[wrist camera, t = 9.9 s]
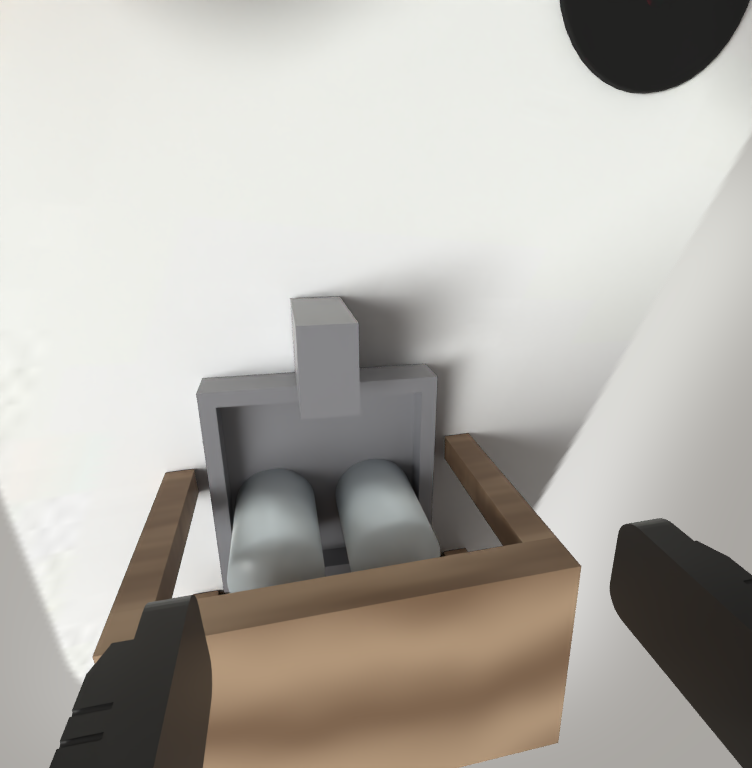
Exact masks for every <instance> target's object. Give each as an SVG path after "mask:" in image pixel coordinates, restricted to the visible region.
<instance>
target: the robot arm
mask: <svg viewBox="0 0 752 768" xmlns="http://www.w3.org/2000/svg"><path fill="white" fill-rule="evenodd" d="M610 595H611V599H612V602H613V605H614V608H615V610H616V612H617V614H618V615H619V617H620V618H621V620H622V621H623V622H624V623H625V625H626V626H627V627H628V628H629V630H630V631H631V632H632V633H633V635H634V636H635V637H636V638H637V639H638V641H639V642H640V643H641V644H642V646H643V647H644V648H645V649H646V650H647V652H648V653H649V654H650V655H651V656H652V658H653V659H654V660H655V661H656V663H657V664H658V665H659V666H660V667H661V669H662V670H663V671H664V672H665V673H666V675H667V676H668V677H669V678H670V679H671V681H672V682H673V683H674V684H675V686H676V687H677V688H678V689H679V691H680V692H681V693H682V694H683V696H684V697H685V698H686V699H687V700H688V701H689V703H690V704H691V705H692V706H693V708H694V709H695V710H696V711H697V713H698V714H699V715H700V716H701V717H702V719H703V720H704V721H705V722H706V724H707V725H708V726H709V727H710V728H711V730H712V731H713V732H714V733H715V734H716V736H717V737H718V738H719V739H720V740H721V742H722V743H723V744H724V745H725V747H726V748H727V749H728V750H729V752H730V753H731V754H732V755H733V756H734V758H735V759H736V760H737V761H738V762H739V764H740V765H741V766H742V767H743V768H752V575H751V574H750V573H748V572H747V571H746V570H744V569H743V568H742V567H741V566H739V565H738V564H737V563H735V562H734V561H733V560H732V559H731V558H729V557H728V556H726V555H724V554H722V553H720V552H718V551H716V550H714V549H712V548H710V547H708V546H706V545H704V544H702V543H700V542H698V541H693V540H692V539H691V538H690V537H688V536H687V535H686V534H685V533H683V532H682V531H681V530H680V529H679V528H677V527H676V526H675V525H674V524H672V523H671V522H670V521H668V520H666V519H662V518H659V519H653V520H647V521H641V522H635V523H629V524H625V525H623V526H622V527H621V528H620V530H619V534H618V538H617V545H616V550H615V556H614V562H613V568H612V574H611V581H610ZM211 699H212V667H211V659H210V654H209V650H208V645H207V641H206V636H205V632H204V627H203V623H202V618H201V614H200V609H199V605H198V601H197V598H196V596H195V595H190V596H184V597H178V598H172V599H166V600H160V601H154V602H149V603H147V604H146V605H145V607H144V609H143V612H142V615H141V618H140V621H139V624H138V628H137V631H136V634H135V637H134V639H132V640H126V641H121V642H115V643H111V645H110V646H109V647H108V648H107V650H106V651H105V652H104V653H103V655H102V656H101V657H100V658H99V660H98V661H97V662H96V663H95V665H94V666H93V667H92V668H91V669H90V671H89V672H88V673H87V674H86V677H85V679H84V682H83V684H82V687H81V690H80V692H79V694H78V697H77V699H76V702H75V704H74V707H73V709H72V712H73V713H72V717H70V718H69V720H68V722H67V725H66V727H65V730H64V732H63V735H62V737H61V740H60V748H59V749H57V750H56V752H55V755H54V758H53V760H52V762H51V765H50V767H49V768H203V763H204V755H205V747H206V739H207V731H208V724H209V716H210V708H211Z"/></svg>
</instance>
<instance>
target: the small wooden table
mask: <svg viewBox="0 0 752 768" xmlns="http://www.w3.org/2000/svg"><path fill="white" fill-rule="evenodd" d="M444 458H445V460H446V461H447V463H448V464H449V466H450V467H451V469H452V470H453V472H454V473H455V475H456V476H457V478H458V479H459V481H460V482H461V484H462V485H463V487H464V488H465V490H466V491H467V493H468V494H469V496H470V497H471V499H472V500H473V502H474V503H475V505H476V506H477V508H478V509H479V511H480V512H481V514H482V515H483V517H484V518H485V520H486V521H487V523H488V524H489V525H490V527H491V528H492V530H493V531H494V533H495V534H496V536H497V537H498V539H499V540H500V542H501V543H502V545H503V546H501V547H495V548H489V549H483V550H477V551H472V552H467V550H466V548H463V549H457V550H452V551H446V552H444V556H443V557H437V558H431V559H425V560H420V561H414V562H408V563H402V564H396V565H391V566H385V567H379V568H373V569H368V570H362V571H356V572H350V573H344V574H339V575H333V576H327V577H321V578H315V579H310V580H304V581H298V582H292V583H287V584H281V585H275V586H269V587H263V588H258V589H252V590H246V591H240V592H234V593H229V594H223V595H219V592H218V591H212V592H206V593H201V594H195V596H196V598H197V601H198V605H199V609H200V614H201V618H202V623H203V627H204V632H205V636H206V641H207V645H208V650H209V654H210V659H211V667H212V699H211V708H210V716H209V724H208V731H207V739H206V747H205V755H204V763H203V768H459V767H463V766H467V765H471V764H475V763H479V762H483V761H487V760H491V759H495V758H499V757H503V756H507V755H511V754H515V753H519V752H523V751H527V750H531V749H535V748H539V747H543V746H547V745H551V744H555V743H558V740H559V732H560V725H561V717H562V709H563V701H564V694H565V686H566V679H567V670H568V663H569V656H570V648H571V641H572V633H573V625H574V617H575V610H576V603H577V595H578V587H579V580H580V572H581V565H580V564H579V563H578V562H577V561H576V560H575V558H574V557H573V556H572V555H571V554H570V552H569V551H568V550H567V549H566V548H565V547H564V545H563V544H562V543H561V542H560V541H559V539H558V538H557V537H556V536H555V535H554V534H553V532H552V531H551V530H550V529H549V528H548V526H547V525H546V524H545V523H544V522H543V521H542V520H541V518H540V517H539V516H538V515H537V514H536V512H535V511H534V510H533V509H532V508H531V506H530V505H529V504H528V503H527V502H526V501H525V499H524V498H523V497H522V496H521V495H520V493H519V492H518V491H517V490H516V489H515V488H514V486H513V485H512V484H511V483H510V482H509V480H508V479H507V478H506V477H505V476H504V475H503V473H502V472H501V471H500V470H499V469H498V468H497V466H496V465H495V464H494V463H493V462H492V460H491V459H490V458H489V457H488V456H487V455H486V453H485V452H484V451H483V450H482V449H481V447H480V446H479V445H478V444H477V443H476V442H475V440H474V439H473V438H472V437H471V436H470V435H469V433H466V434H459V435H451V436H445V456H444ZM198 493H199V491H198V486H197V481H196V476H195V471H194V469H191V470H183V471H175V472H168V473H165V475H164V478H163V480H162V483H161V485H160V488H159V490H158V493H157V495H156V498H155V500H154V503H153V505H152V508H151V511H150V513H149V516H148V518H147V521H146V523H145V526H144V528H143V531H142V533H141V536H140V538H139V541H138V543H137V546H136V548H135V551H134V553H133V556H132V558H131V561H130V563H129V566H128V568H127V571H126V574H125V576H124V579H123V581H122V584H121V586H120V589H119V591H118V594H117V596H116V599H115V601H114V604H113V606H112V609H111V611H110V614H109V616H108V619H107V621H106V624H105V626H104V629H103V631H102V634H101V637H100V639H99V642H98V644H97V647H96V649H95V652H94V654H93V660H94V663H96V662H97V661H98V660H99V658H100V657H101V656H102V655H103V653H104V652H105V651H106V650H107V648H108V647H109V646H110V645H111V643H115V642H121V641H126V640H132V639H134V637H135V634H136V631H137V628H138V624H139V621H140V618H141V615H142V612H143V609H144V607H145V605H146V604H147V603H149V602H154V601H160V600H166V599H172V595H173V591H174V588H175V584H176V580H177V576H178V572H179V568H180V564H181V560H182V556H183V552H184V548H185V544H186V541H187V537H188V533H189V529H190V525H191V521H192V517H193V513H194V509H195V505H196V501H197V497H198Z"/></svg>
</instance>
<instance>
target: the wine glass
mask: <svg viewBox="0 0 752 768" xmlns="http://www.w3.org/2000/svg"><path fill="white" fill-rule="evenodd" d="M749 1H750V0H560V7H561V12H562V16H563V20H564V24H565V28H566V30H567V33H568V35H569V38H570V40H571V42H572V45H573V47H574V48H575V50H576V52H577V53H578V55H579V57H580V58H581V60H582V61H583V62H584V64H585V65H586V66H587V67H588V68H589V69H590V70H591V72H592V73H594V74H595V75H596V76H597V77H598V78H600V79H601V80H602V81H603V82H605V83H607V84H609V85H611V86H613V87H615V88H616V89H620V90H623V91H626V92H630V93H652V92H659V91H662V90H665V89H668V88H671V87H674V86H677V85H679V84H681V83H683V82H685V81H687V80H689V79H691V78H692V77H693V76H695V75H696V74H698V73H699V72H700V71H702V70H703V69H704V68H705V67H706V66H707V65H708V64H709V63H710V62H711V61H712V60H713V59H714V58H715V57H716V56H717V55H718V54H719V53H720V52H721V50H722V49H723V48H724V46H725V45H726V44H727V43H728V41H729V40H730V38H731V36H732V35H733V33H734V32H735V30H736V28H737V27H738V25H739V23H740V21H741V19H742V17H743V15H744V13H745V10H746V8H747V6H748V3H749Z"/></svg>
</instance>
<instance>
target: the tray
mask: <svg viewBox="0 0 752 768" xmlns="http://www.w3.org/2000/svg"><path fill="white" fill-rule="evenodd" d="M290 301H291V316H292V332H293V348H294V363H295V372H292V373H277V374H261V375H246V376H231V377H215V378H202V381H201V383H200V386H199V388H198V391H197V393H196V396H197V403H198V410H199V417H200V424H201V431H202V438H203V445H204V453H205V460H206V467H207V474H208V481H209V488H210V495H211V502H212V510H213V517H214V524H215V531H216V538H217V545H218V552H219V559H220V567H221V574H222V581H223V588H224V593H225V592H230V593H234V592H240V591H246V590H252V589H258V588H263V587H269V586H275V585H281V584H287V583H292V582H298V581H304V580H310V579H315V578H321V577H327V576H333V575H339V574H344V573H350V572H356V571H362V570H368V569H373V568H379V567H385V566H391V565H396V564H402V563H408V562H414V561H420V560H425V559H431V558H437V557H440V546H439V542H438V540H437V538H436V536H435V534H434V532H433V530H432V527H431V518H432V495H433V471H434V448H435V424H436V401H437V376H436V375H435V373H434V372H433V371H432V370H431V369H430V368H429V367H428V366H427V365H426V364H414V365H399V366H384V367H368V368H359V323H358V322H357V320H356V319H355V317H354V316H353V315H352V313H351V312H350V310H349V309H348V308H347V306H346V305H345V303H344V302H343V300H342V299H341V298H340V297H316V298H290Z"/></svg>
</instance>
